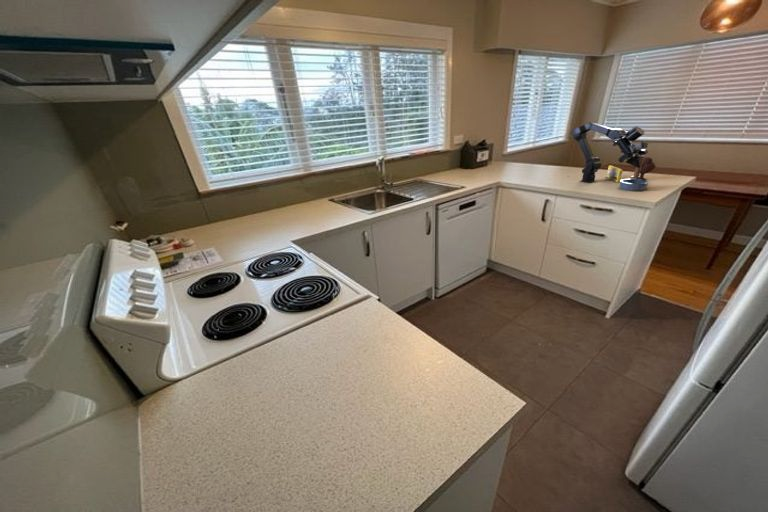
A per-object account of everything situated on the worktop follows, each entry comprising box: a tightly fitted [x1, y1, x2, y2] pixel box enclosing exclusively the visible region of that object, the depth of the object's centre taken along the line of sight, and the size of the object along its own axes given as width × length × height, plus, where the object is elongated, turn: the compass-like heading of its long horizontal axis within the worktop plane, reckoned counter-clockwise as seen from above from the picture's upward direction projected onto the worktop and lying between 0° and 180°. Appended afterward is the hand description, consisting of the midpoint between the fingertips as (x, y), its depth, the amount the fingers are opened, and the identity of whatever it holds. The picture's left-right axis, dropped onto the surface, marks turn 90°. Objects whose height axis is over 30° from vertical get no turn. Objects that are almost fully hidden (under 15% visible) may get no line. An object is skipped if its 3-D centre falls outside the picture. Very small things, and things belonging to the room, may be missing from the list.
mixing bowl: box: [618, 178, 649, 192], centre depth 182 cm, size 13×13×4 cm
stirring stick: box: [630, 155, 646, 179], centre depth 177 cm, size 4×4×13 cm
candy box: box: [606, 165, 624, 183], centre depth 204 cm, size 16×2×8 cm, turn 168°
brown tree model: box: [633, 156, 657, 181], centre depth 196 cm, size 11×11×15 cm
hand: (641, 167), depth 176 cm, fingers closed on stirring stick, 2 cm apart
